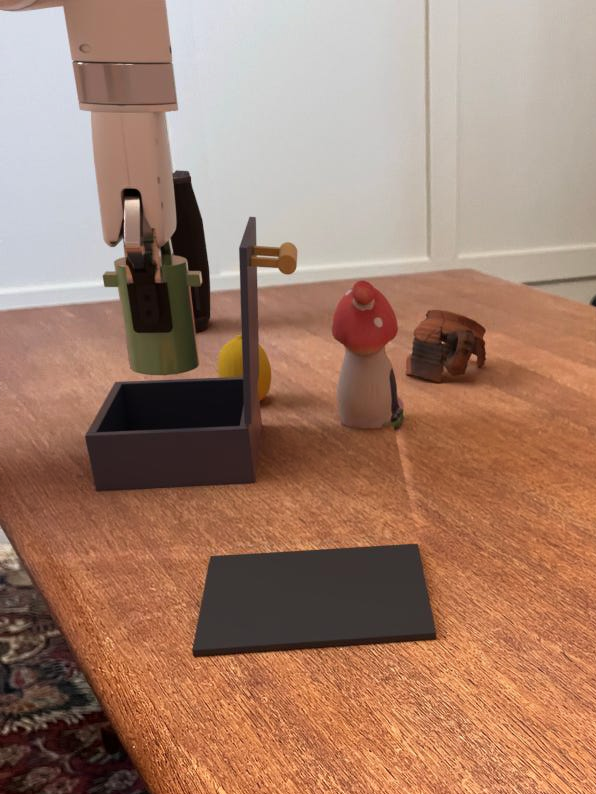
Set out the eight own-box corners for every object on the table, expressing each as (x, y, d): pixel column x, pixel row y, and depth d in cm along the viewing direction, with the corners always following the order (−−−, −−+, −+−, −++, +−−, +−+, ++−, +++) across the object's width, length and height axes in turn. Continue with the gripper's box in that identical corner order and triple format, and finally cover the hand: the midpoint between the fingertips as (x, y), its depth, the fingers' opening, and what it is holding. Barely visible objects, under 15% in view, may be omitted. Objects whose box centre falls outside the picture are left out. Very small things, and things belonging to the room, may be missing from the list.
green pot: (113, 376, 88) (95, 267, 83) (124, 357, 93) (107, 254, 88) (207, 374, 89) (195, 267, 84) (213, 356, 94) (201, 254, 89)
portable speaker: (139, 325, 141) (113, 171, 131) (205, 317, 145) (184, 167, 135) (156, 339, 134) (130, 178, 124) (225, 330, 139) (205, 173, 129)
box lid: (238, 247, 80) (295, 251, 80) (249, 216, 93) (297, 219, 94) (244, 424, 87) (296, 426, 88) (253, 372, 100) (298, 374, 101)
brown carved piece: (388, 373, 123) (408, 306, 122) (454, 399, 127) (474, 335, 127) (429, 372, 112) (451, 299, 112) (499, 400, 117) (521, 331, 116)
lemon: (214, 415, 108) (203, 339, 104) (236, 399, 112) (227, 326, 108) (262, 419, 107) (253, 343, 103) (283, 403, 111) (275, 329, 107)
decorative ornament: (386, 442, 101) (379, 286, 93) (324, 437, 102) (311, 282, 94) (413, 413, 108) (408, 266, 101) (355, 408, 110) (346, 263, 102)
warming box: (97, 499, 88) (84, 435, 85) (125, 438, 102) (114, 381, 99) (256, 491, 90) (248, 428, 87) (263, 432, 103) (256, 375, 100)
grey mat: (193, 656, 66) (192, 650, 66) (210, 561, 78) (210, 555, 78) (436, 639, 68) (436, 632, 68) (417, 548, 80) (417, 543, 80)
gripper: (96, 83, 87) (129, 300, 96) (53, 94, 72) (96, 349, 81) (187, 85, 88) (210, 300, 97) (162, 95, 73) (193, 347, 82)
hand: (158, 320), depth 89 cm, fingers closed on green pot, 6 cm apart
